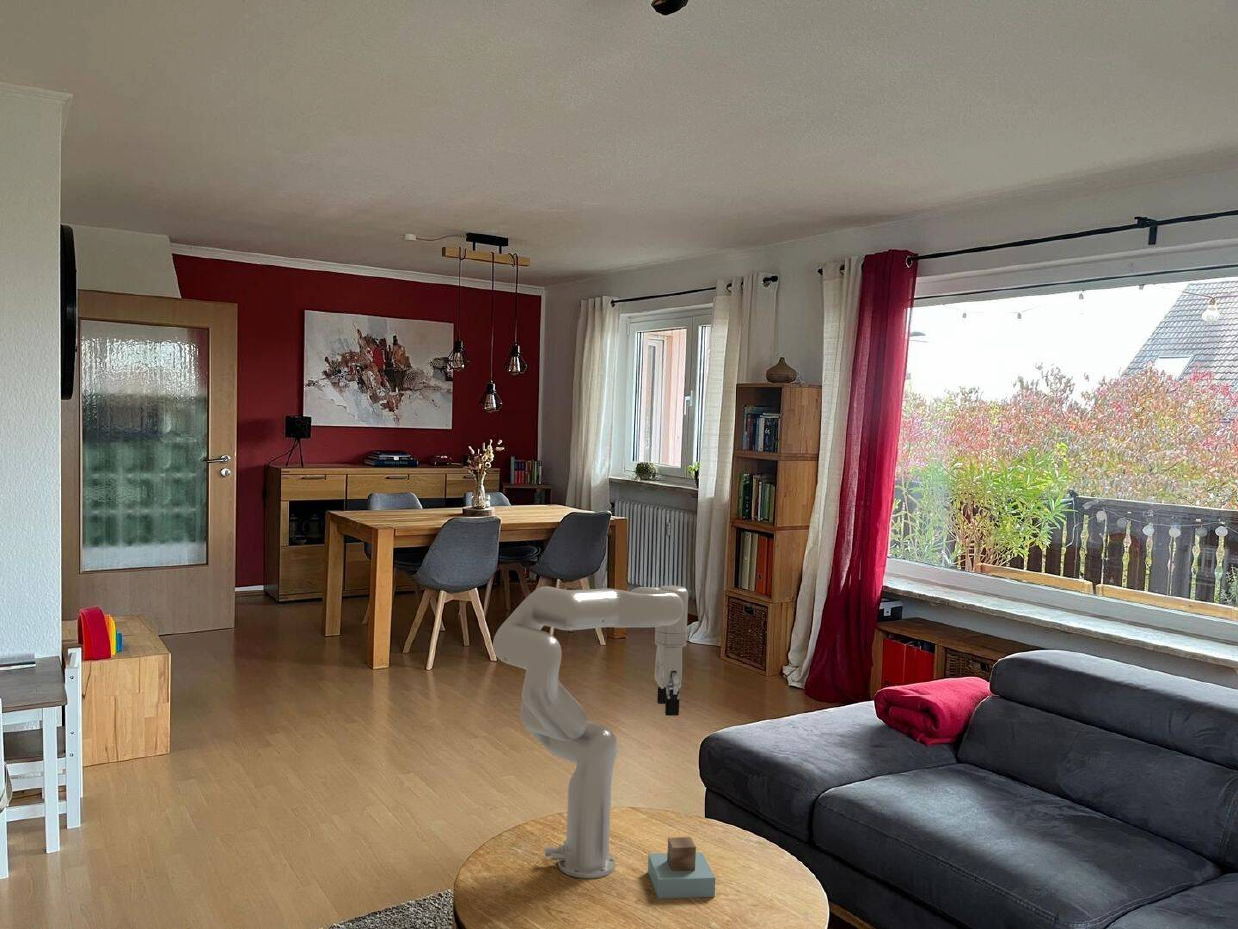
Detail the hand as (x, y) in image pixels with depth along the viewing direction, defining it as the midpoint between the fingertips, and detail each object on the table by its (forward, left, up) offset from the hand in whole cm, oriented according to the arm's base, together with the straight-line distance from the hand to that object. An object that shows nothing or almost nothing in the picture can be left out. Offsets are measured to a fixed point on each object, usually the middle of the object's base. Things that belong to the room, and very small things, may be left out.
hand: (667, 709), depth 224 cm
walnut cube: (-1, -25, -26) cm, 36 cm away
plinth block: (-1, -25, -30) cm, 39 cm away
